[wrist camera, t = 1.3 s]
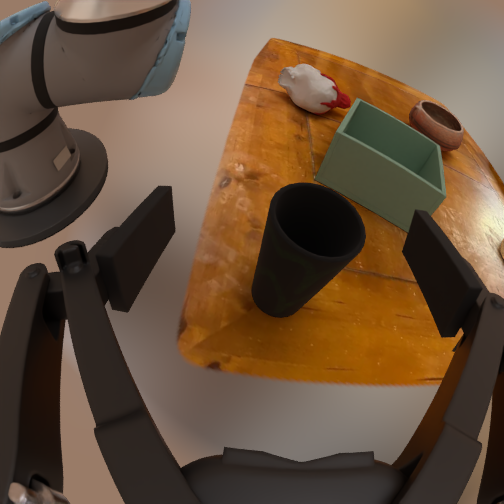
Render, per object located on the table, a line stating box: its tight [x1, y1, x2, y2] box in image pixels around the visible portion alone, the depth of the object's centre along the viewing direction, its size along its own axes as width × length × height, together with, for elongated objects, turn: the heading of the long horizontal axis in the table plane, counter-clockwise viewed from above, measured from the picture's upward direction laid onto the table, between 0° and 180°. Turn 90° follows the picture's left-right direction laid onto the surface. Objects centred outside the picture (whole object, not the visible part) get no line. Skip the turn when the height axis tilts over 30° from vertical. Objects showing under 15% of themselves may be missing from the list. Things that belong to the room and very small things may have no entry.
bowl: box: [409, 100, 464, 151], centre depth 62 cm, size 16×16×10 cm
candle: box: [278, 64, 351, 115], centre depth 55 cm, size 9×11×15 cm
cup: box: [252, 183, 366, 318], centre depth 27 cm, size 8×8×12 cm
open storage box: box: [315, 98, 446, 232], centre depth 44 cm, size 18×18×9 cm
